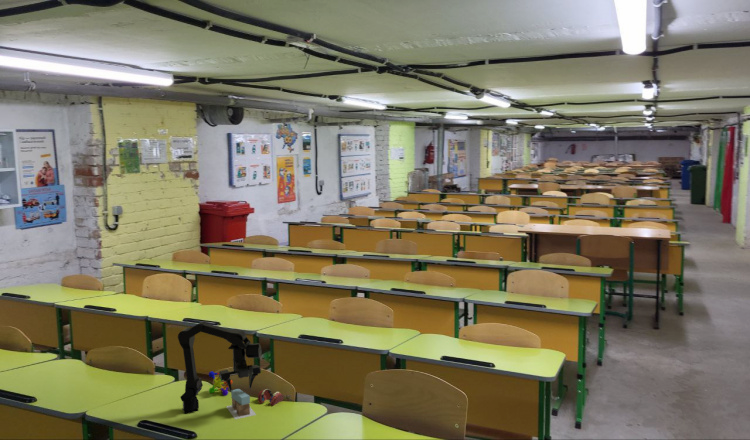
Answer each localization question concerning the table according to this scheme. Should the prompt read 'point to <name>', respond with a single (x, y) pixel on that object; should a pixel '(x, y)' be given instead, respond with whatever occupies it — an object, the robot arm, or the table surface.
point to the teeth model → (267, 395)
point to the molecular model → (218, 384)
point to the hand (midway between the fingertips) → (240, 389)
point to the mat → (237, 414)
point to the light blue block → (240, 396)
